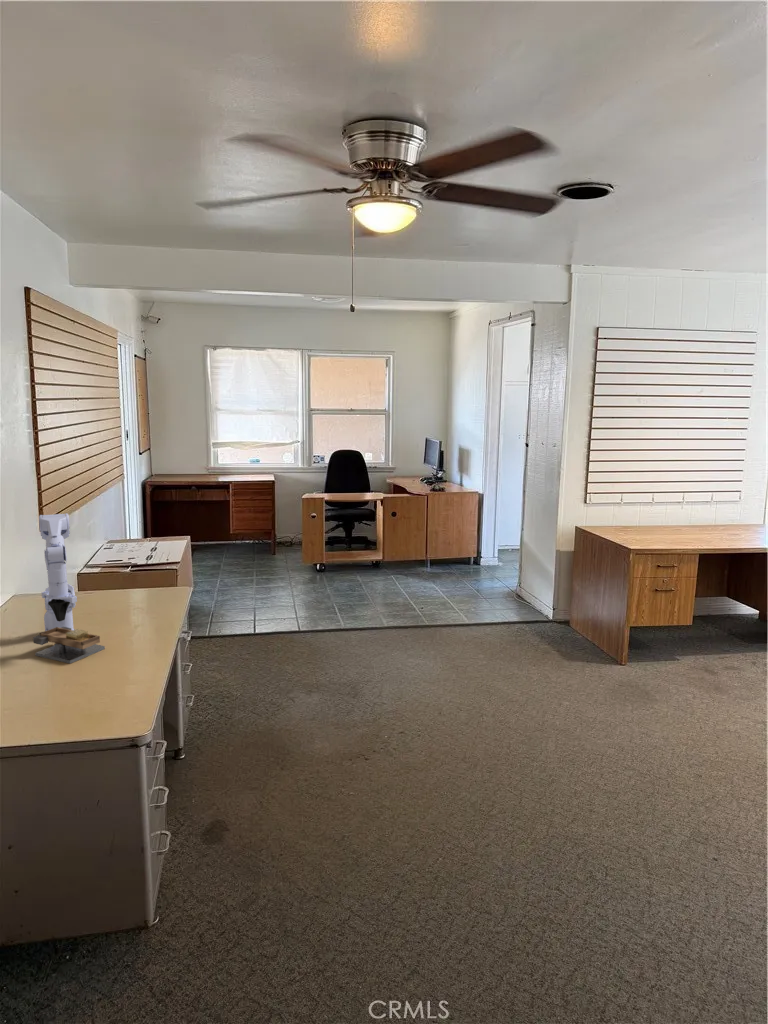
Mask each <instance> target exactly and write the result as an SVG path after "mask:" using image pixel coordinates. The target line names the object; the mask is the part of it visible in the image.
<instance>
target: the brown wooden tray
mask: <svg viewBox="0 0 768 1024" xmlns="http://www.w3.org/2000/svg"><path fill="white" fill-rule="evenodd" d="M70 631H73V630H71V628H67V627H61V628H59V627H56V628H53V629H50V630H47V631H45V630H44V631H43V632H42V631H41V632H40V633H39V635H35V636H34V637H32V641H33V644H36V645H41V646H43V645H45V644H49V643H54V644H55V643H60V644H62V645H66V646H71V647H75V648H80V649H85V648H87V647H90V646H92V645H95V644H97V645H98V644H99V643H101V637H100V635H97V634H93V633H92V634H91V633H88V639H86V640H83V641H76V640H72V639H67V638H66V633H67V632H70Z"/></svg>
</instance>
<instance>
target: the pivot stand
mask: <svg viewBox="0 0 768 1024" xmlns="http://www.w3.org/2000/svg"><path fill="white" fill-rule="evenodd" d="M105 647H106V646H105V645H101V644H98V643H97V644H95V645H92V646H90V647H87V648H85V649H80V648H75V647H71V646H66V645H62V644H60V643H54V645H52V646H50V647H49V646H48V648H47V647H46V648H44V649H42V650H41V649H40V650H39V651H35V656H36V657H38V658H39V657H41V658H44V659H49V660H53V661H57V662H62V663H65V664H66V663H67V664H73V663H75V662H77V661H79V660H82V659H84V658H87V657H89V656H91V655H94V654H96V653H99V652H100V651H103V650H105Z"/></svg>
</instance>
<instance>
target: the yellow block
mask: <svg viewBox="0 0 768 1024" xmlns="http://www.w3.org/2000/svg"><path fill="white" fill-rule="evenodd" d="M88 634H89V633H88V630H83V629H79V628H75V630H73V631H70V632H67V633H66V638H67V639H72V640H76V641H83V640H86V639H88Z"/></svg>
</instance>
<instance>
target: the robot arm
mask: <svg viewBox="0 0 768 1024" xmlns="http://www.w3.org/2000/svg"><path fill="white" fill-rule="evenodd" d="M38 525H39V531H40V536H41V540H45V549H44V551H43V552H44V561H45V565H46V570H47V572H46V573H47V580H48V581H47V583H48V586H47V588H45V590H44V591H41V598H42V599H44V606H45V607H44V608H45V610H46V612H45V613H44V616H43V621H44V623H43V624H44V632H45V631H47V630H50V629H53V628H56V627H59V628H61V627H67V628H71V630H76V628H74V617H73V616H74V615H73V609H75V607H76V603H78V600H77V599H78V597H77V595H76V594H75V593H76V592H75V588H74V586H73V585H71V584H70V583H68V577H67V576H68V575H67V562H68V555H67V548H66V545H65V539H67V538H69V537H70V533H71V532H70V531H71V530H70V527H71V526H70V516H69V513H67V512H66V513H55V514H53V513H52V514H39V516H38Z"/></svg>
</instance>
